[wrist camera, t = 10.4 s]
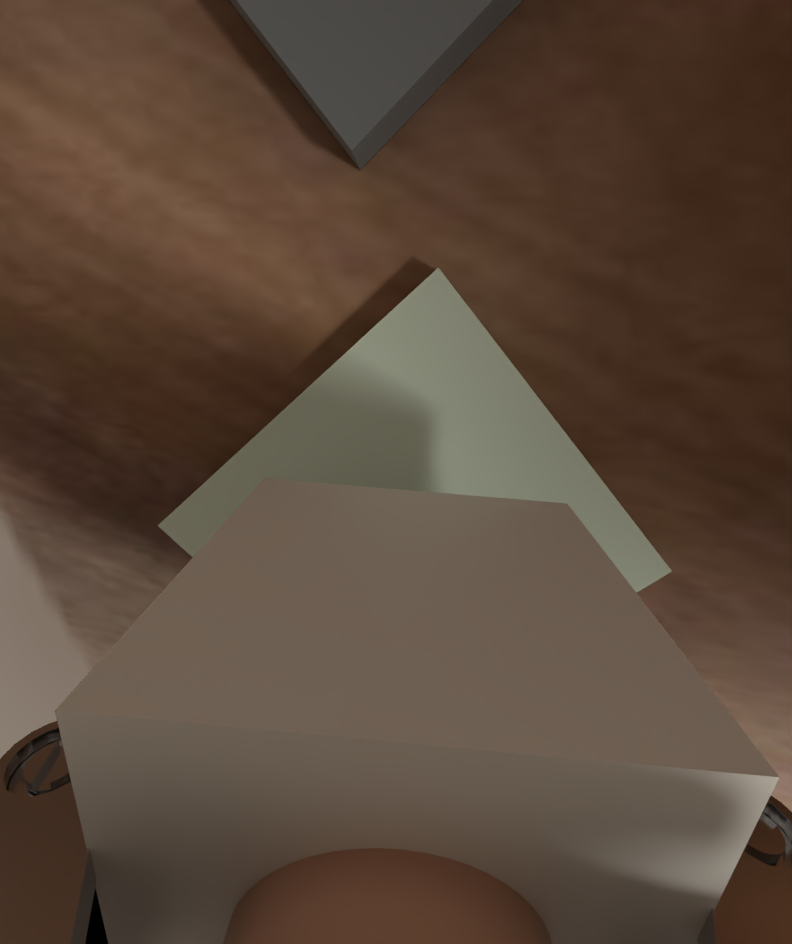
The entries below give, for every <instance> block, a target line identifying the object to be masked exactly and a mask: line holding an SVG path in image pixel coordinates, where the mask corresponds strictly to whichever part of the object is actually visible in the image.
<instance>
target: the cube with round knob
mask: <svg viewBox="0 0 792 944" xmlns="http://www.w3.org/2000/svg"><path fill="white" fill-rule="evenodd" d="M55 713H56V717H57V722H58V726H59V730H60V735H61V739H62V744H63V748H64V752H65V757H66V761H67V765H68V770H69V774H70V779H71V783H72V787H73V792H74V796H75V800H76V805H77V809H78V813H79V818H80V822H81V827H82V831H83V835H84V840H85V844H86V848H90V853H91V857H92V861H93V866H94V870H95V875H96V879H97V881H96V886H95V888H96V892H97V896H98V901H99V905H100V910H101V914H102V918H103V923H104V927H105V931H106V936H107V940H108V944H698V942H697V938H698V936H699V933H700V931H701V929H702V927H703V925H704V923H705V921H706V919H707V917H708V915H709V913H710V911H711V909H715V908H716V906H717V904H718V902H719V900H720V898H721V896H722V893H723V891H724V889H725V887H726V885H727V883H728V881H729V879H730V877H731V875H732V873H733V871H734V869H735V867H736V865H737V863H738V861H739V859H740V857H741V855H742V853H743V851H744V849H745V847H746V845H747V843H748V840H749V838H750V836H751V834H752V832H753V830H754V828H755V826H756V824H757V822H758V820H759V818H760V816H761V814H762V812H763V810H764V808H765V806H766V804H767V802H768V800H769V798H770V796H771V794H772V792H773V790H774V787H775V785H776V783H777V781H778V779H779V776H778V775H777V774H776V772H775V771H774V770H773V768H772V767H771V766H770V765H769V763H768V762H767V761H766V759H765V758H764V757H763V756H762V754H761V753H760V752H759V750H758V749H757V748H756V746H755V745H754V744H753V743H752V741H751V740H750V739H749V737H748V736H747V735H746V734H745V732H744V731H743V730H742V728H741V727H740V726H739V725H738V723H737V722H736V721H735V719H734V718H733V717H732V715H731V714H730V713H729V712H728V710H727V709H726V708H725V706H724V705H723V704H722V703H721V701H720V700H719V699H718V697H717V696H716V695H715V694H714V692H713V691H712V690H711V688H710V687H709V686H708V684H707V683H706V682H705V681H704V679H703V678H702V677H701V675H700V674H699V673H698V672H697V670H696V669H695V668H694V666H693V665H692V664H691V663H690V661H689V660H688V659H687V657H686V656H685V655H684V654H683V652H682V651H681V650H680V648H679V647H678V646H677V644H676V643H675V642H674V641H673V639H672V638H671V637H670V635H669V634H668V633H667V632H666V630H665V629H664V628H663V626H662V625H661V624H660V623H659V621H658V620H657V619H656V617H655V616H654V615H653V613H652V612H651V611H650V610H649V608H648V607H647V606H646V604H645V603H644V602H643V601H642V599H641V598H640V597H639V595H638V594H637V593H636V592H635V590H634V589H633V588H632V586H631V585H630V584H629V582H628V581H627V580H626V579H625V577H624V576H623V575H622V573H621V572H620V571H619V570H618V568H617V567H616V566H615V564H614V563H613V562H612V561H611V559H610V558H609V557H608V555H607V554H606V553H605V551H604V550H603V549H602V548H601V546H600V545H599V544H598V542H597V541H596V540H595V539H594V537H593V536H592V535H591V533H590V532H589V531H588V530H587V528H586V527H585V526H584V524H583V523H582V522H581V521H580V519H579V518H578V517H577V515H576V514H575V513H574V511H573V510H572V509H571V508H570V506H569V505H568V504H567V503H556V502H544V501H532V500H520V499H508V498H496V497H484V496H472V495H460V494H449V493H437V492H425V491H413V490H401V489H389V488H377V487H365V486H353V485H341V484H329V483H317V482H305V481H293V480H281V479H269V478H264V479H263V480H262V481H261V482H260V484H259V485H258V486H257V487H256V488H255V489H254V490H253V491H252V492H251V494H250V495H249V496H248V497H247V498H246V499H245V500H244V501H243V502H242V503H241V505H240V506H239V507H238V508H237V509H236V510H235V511H234V512H233V513H232V515H231V516H230V517H229V518H228V519H227V520H226V521H225V522H224V523H223V525H222V526H221V527H220V528H219V529H218V530H217V531H216V532H215V533H214V535H213V536H212V537H211V538H210V539H209V540H208V541H207V542H206V543H205V545H204V546H203V547H202V548H201V549H200V550H199V551H198V552H197V553H196V555H195V556H194V557H193V558H192V559H191V560H190V561H189V562H188V563H187V565H186V566H185V567H184V568H183V569H182V570H181V571H180V572H179V573H178V575H177V576H176V577H175V578H174V579H173V580H172V581H171V582H170V583H169V585H168V586H167V587H166V588H165V589H164V590H163V591H162V592H161V593H160V595H159V596H158V597H157V598H156V599H155V600H154V601H153V602H152V603H151V605H150V606H149V607H148V608H147V609H146V610H145V611H144V612H143V613H142V615H141V616H140V617H139V618H138V619H137V620H136V621H135V622H134V623H133V625H132V626H131V627H130V628H129V629H128V630H127V631H126V632H125V633H124V635H123V636H122V637H121V638H120V639H119V640H118V641H117V642H116V643H115V645H114V646H113V647H112V648H111V649H110V650H109V651H108V652H107V653H106V655H105V656H104V657H103V658H102V659H101V660H100V661H99V662H98V663H97V665H96V666H95V667H94V668H93V669H92V670H91V671H90V672H89V673H88V675H87V676H86V677H85V678H84V679H83V680H82V681H81V682H80V683H79V685H78V686H77V687H76V688H75V689H74V690H73V691H72V692H71V693H70V695H69V696H68V697H67V698H66V699H65V700H64V701H63V702H62V703H61V705H60V706H59V707H58V708H57V709H56V710H55Z"/></svg>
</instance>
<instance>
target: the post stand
mask: <svg viewBox="0 0 792 944" xmlns="http://www.w3.org/2000/svg"><path fill="white" fill-rule="evenodd" d="M229 1H230V2H231V3H232V5H233V6H234V7H235V8H236V10H237V11H238V12H239V14H240V15H241V16H242V18H243V19H244V20H245V21H246V23H247V24H248V25H249V27H250V28H251V29H252V31H253V32H254V33H255V34H256V36H257V37H258V38H259V40H260V41H261V42H262V43H263V45H264V46H265V47H266V49H267V50H268V51H269V53H270V54H271V55H272V56H273V58H274V59H275V60H276V62H277V63H278V64H279V66H280V67H281V68H282V69H283V71H284V72H285V73H286V75H287V76H288V77H289V78H290V80H291V81H292V82H293V84H294V85H295V86H296V88H297V89H298V90H299V91H300V93H301V94H302V95H303V97H304V98H305V99H306V101H307V102H308V103H309V104H310V106H311V107H312V108H313V110H314V111H315V112H316V114H317V115H318V116H319V117H320V119H321V120H322V121H323V123H324V124H325V125H326V126H327V128H328V129H329V130H330V132H331V133H332V134H333V136H334V137H335V138H336V139H337V141H338V142H339V143H340V145H341V146H342V147H343V149H344V150H345V151H346V152H347V154H348V155H349V156H350V158H351V159H352V160H353V161H354V163H355V164H356V165H357V167H358V168H359V169H360V170H361V169H362V168H363V167H364V166H365V165H366V164H367V163H368V162H369V161H370V159H371V158H372V157H373V156H374V155H375V154H376V153H377V152H378V151H379V150H380V149H381V148H382V147H383V146H384V145H385V144H386V143H387V142H388V141H389V140H390V139H391V138H392V136H393V135H394V134H395V133H396V132H397V131H398V130H399V129H400V128H401V127H402V126H403V125H404V124H405V123H406V122H407V121H408V120H409V119H410V118H411V117H412V116H413V115H414V113H415V112H416V111H417V110H418V109H419V108H420V107H421V106H422V105H423V104H424V103H425V102H426V101H427V100H428V99H429V98H430V97H431V96H432V95H433V94H434V93H435V92H436V90H437V89H438V88H439V87H440V86H441V85H442V84H443V83H444V82H445V81H446V80H447V79H448V78H449V77H450V76H451V75H452V74H453V73H454V72H455V71H456V70H457V69H458V67H459V66H460V65H461V64H462V63H463V62H464V61H465V60H466V59H467V58H468V57H469V56H470V55H471V54H472V53H473V52H474V51H475V50H476V49H477V48H478V47H479V46H480V44H481V43H482V42H483V41H484V40H485V39H486V38H487V37H488V36H489V35H490V34H491V33H492V32H493V31H494V30H495V29H496V28H497V27H498V26H499V25H500V24H501V23H502V21H503V20H504V19H505V18H506V17H507V16H508V15H509V14H510V13H511V12H512V11H513V10H514V9H515V8H516V7H517V6H518V5H519V4H520V3H521V2H522V1H523V0H229Z"/></svg>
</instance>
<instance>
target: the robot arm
mask: <svg viewBox="0 0 792 944" xmlns="http://www.w3.org/2000/svg"><path fill="white" fill-rule="evenodd" d="M96 881H97V879H96V875H95V870H94V866H93V861H92V857H91V853H90V848H86V844H85V840H84V835H83V831H82V827H81V822H80V818H79V813H78V809H77V805H76V800H75V796H74V792H73V787H72V783H71V779H70V774H69V770H68V765H67V761H66V757H65V752H64V748H63V744H62V739H61V735H60V730H59V726H58V722H57V721H56V722H53V723H49V724H47V725H45V726H43V727H41V728H39V729H37V730H35V731H33V732H31V733H30V734H28V735H27V736H26V737H24V738H23V739H21V740H20V741H18V742H17V743H16V744H14V746H12V747H11V748H10V750H8V751H7V752H6V753H5V754H4V755H3V756H2V758H1V759H0V944H108V940H107V936H106V931H105V927H104V923H103V918H102V914H101V910H100V905H99V901H98V896H97V892H96V888H95V886H96ZM697 942H698V944H792V812H791V811H790V810H789V809H788V808H787V807H785V806H784V805H783V804H782V803H781V802H780V801H778V800H777V799H775V798H774V797H773V796H770V798H769V800H768V802H767V804H766V806H765V808H764V810H763V812H762V814H761V816H760V818H759V820H758V822H757V824H756V826H755V828H754V830H753V832H752V834H751V836H750V838H749V840H748V843H747V845H746V847H745V849H744V851H743V853H742V855H741V857H740V859H739V861H738V863H737V865H736V867H735V869H734V871H733V873H732V875H731V877H730V879H729V881H728V883H727V885H726V887H725V889H724V891H723V893H722V896H721V898H720V900H719V902H718V904H717V906H716V908H715V909H711V911H710V913H709V915H708V917H707V919H706V921H705V923H704V925H703V927H702V929H701V931H700V933H699V936H698V938H697Z"/></svg>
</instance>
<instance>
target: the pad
mask: <svg viewBox="0 0 792 944" xmlns="http://www.w3.org/2000/svg"><path fill="white" fill-rule="evenodd" d="M264 478H269V479H281V480H293V481H305V482H317V483H329V484H341V485H353V486H365V487H377V488H389V489H401V490H413V491H425V492H437V493H449V494H460V495H472V496H484V497H496V498H508V499H520V500H532V501H544V502H556V503H567V504H568V505H569V506H570V508H571V509H572V510H573V511H574V513H575V514H576V515H577V517H578V518H579V519H580V521H581V522H582V523H583V524H584V526H585V527H586V528H587V530H588V531H589V532H590V533H591V535H592V536H593V537H594V539H595V540H596V541H597V542H598V544H599V545H600V546H601V548H602V549H603V550H604V551H605V553H606V554H607V555H608V557H609V558H610V559H611V561H612V562H613V563H614V564H615V566H616V567H617V568H618V570H619V571H620V572H621V573H622V575H623V576H624V577H625V579H626V580H627V581H628V582H629V584H630V585H631V586H632V588H633V589H634V590H635V592H636V593H637V592H639V591H640V590H642V589H644V588H645V587H647V586H649V585H650V584H652V583H654V582H655V581H657V580H659V579H660V578H662V577H664V576H665V575H667V574H668V573H670V572H672V571H671V569H670V568H669V567H668V565H667V564H666V563H665V561H664V560H663V559H662V558H661V556H660V555H659V554H658V552H657V551H656V550H655V548H654V547H653V546H652V545H651V543H650V542H649V541H648V539H647V538H646V537H645V535H644V534H643V533H642V532H641V530H640V529H639V528H638V526H637V525H636V524H635V522H634V521H633V520H632V519H631V517H630V516H629V515H628V513H627V512H626V511H625V509H624V508H623V507H622V506H621V504H620V503H619V502H618V500H617V499H616V498H615V496H614V495H613V494H612V493H611V491H610V490H609V489H608V487H607V486H606V485H605V483H604V482H603V481H602V480H601V478H600V477H599V476H598V474H597V473H596V472H595V470H594V469H593V468H592V467H591V465H590V464H589V463H588V461H587V460H586V459H585V457H584V456H583V455H582V454H581V452H580V451H579V450H578V448H577V447H576V446H575V444H574V443H573V442H572V441H571V439H570V438H569V437H568V435H567V434H566V433H565V431H564V430H563V429H562V428H561V426H560V425H559V424H558V422H557V421H556V420H555V418H554V417H553V416H552V415H551V413H550V412H549V411H548V409H547V408H546V407H545V405H544V404H543V403H542V402H541V400H540V399H539V398H538V396H537V395H536V394H535V392H534V391H533V390H532V389H531V387H530V386H529V385H528V383H527V382H526V381H525V379H524V378H523V377H522V376H521V374H520V373H519V372H518V370H517V369H516V368H515V366H514V365H513V364H512V363H511V361H510V360H509V359H508V357H507V356H506V355H505V353H504V352H503V351H502V350H501V348H500V347H499V346H498V344H497V343H496V342H495V340H494V339H493V338H492V337H491V335H490V334H489V333H488V331H487V330H486V329H485V327H484V326H483V325H482V324H481V322H480V321H479V320H478V318H477V317H476V316H475V314H474V313H473V312H472V311H471V309H470V308H469V307H468V305H467V304H466V303H465V301H464V300H463V299H462V298H461V296H460V295H459V294H458V292H457V291H456V290H455V288H454V287H453V286H452V285H451V283H450V282H449V281H448V279H447V278H446V277H445V275H444V274H443V273H442V272H441V270H440V269H439V268H437V269H436V270H435V271H434V272H433V273H432V274H431V275H430V276H429V277H427V278H426V279H425V280H424V281H423V282H422V283H421V284H420V285H419V286H418V287H417V288H416V289H414V290H413V291H412V292H411V293H410V294H409V295H408V296H407V297H406V298H405V299H404V300H402V301H401V302H400V303H399V304H398V305H397V306H396V307H395V308H394V309H393V310H392V311H390V312H389V313H388V314H387V315H386V316H385V317H384V318H383V319H382V320H381V321H380V322H379V323H377V324H376V325H375V326H374V327H373V328H372V329H371V330H370V331H369V332H368V333H367V334H365V335H364V336H363V337H362V338H361V339H360V340H359V341H358V342H357V343H356V344H355V345H354V346H352V347H351V348H350V349H349V350H348V351H347V352H346V353H345V354H344V355H343V356H342V357H340V358H339V359H338V360H337V361H336V362H335V363H334V364H333V365H332V366H331V367H330V368H329V369H327V370H326V371H325V372H324V373H323V374H322V375H321V376H320V377H319V378H318V379H317V380H315V381H314V382H313V383H312V384H311V385H310V386H309V387H308V388H307V389H306V390H305V391H303V392H302V393H301V394H300V395H299V396H298V397H297V398H296V399H295V400H294V401H293V402H292V403H290V404H289V405H288V406H287V407H286V408H285V409H284V410H283V411H282V412H281V413H280V414H278V415H277V416H276V417H275V418H274V419H273V420H272V421H271V422H270V423H269V424H268V425H267V426H265V427H264V428H263V429H262V430H261V431H260V432H259V433H258V434H257V435H256V436H255V437H253V438H252V439H251V440H250V441H249V442H248V443H247V444H246V445H245V446H244V447H243V448H242V449H240V450H239V451H238V452H237V453H236V454H235V455H234V456H233V457H232V458H231V459H230V460H228V461H227V462H226V463H225V464H224V465H223V466H222V467H221V468H220V469H219V470H218V471H216V472H215V473H214V474H213V475H212V476H211V477H210V478H209V479H208V480H207V481H206V482H205V483H203V484H202V485H201V486H200V487H199V488H198V489H197V490H196V491H195V492H194V493H193V494H191V495H190V496H189V497H188V498H187V499H186V500H185V501H184V502H183V503H182V504H181V505H180V506H178V507H177V508H176V509H175V510H174V511H173V512H172V513H171V514H170V515H169V516H168V517H166V518H165V519H164V520H163V521H162V522H161V523H160V524H159V525H158V527H160V528H161V529H162V530H163V531H164V532H165V533H166V534H167V535H168V536H169V537H171V538H172V539H173V540H174V541H175V542H176V543H177V544H178V545H179V546H180V547H182V548H183V549H184V550H185V551H186V552H187V553H188V554H189V555H190V556H191V557H194V556H195V555H196V553H197V552H198V551H199V550H200V549H201V548H202V547H203V546H204V545H205V543H206V542H207V541H208V540H209V539H210V538H211V537H212V536H213V535H214V533H215V532H216V531H217V530H218V529H219V528H220V527H221V526H222V525H223V523H224V522H225V521H226V520H227V519H228V518H229V517H230V516H231V515H232V513H233V512H234V511H235V510H236V509H237V508H238V507H239V506H240V505H241V503H242V502H243V501H244V500H245V499H246V498H247V497H248V496H249V495H250V494H251V492H252V491H253V490H254V489H255V488H256V487H257V486H258V485H259V484H260V482H261V481H262V480H263V479H264Z"/></svg>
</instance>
